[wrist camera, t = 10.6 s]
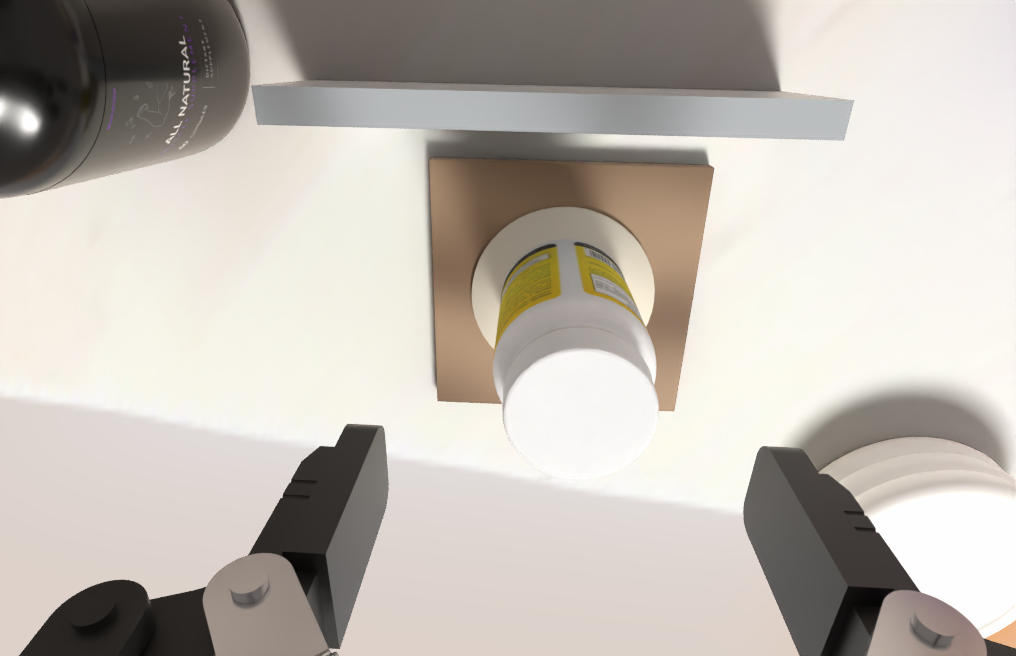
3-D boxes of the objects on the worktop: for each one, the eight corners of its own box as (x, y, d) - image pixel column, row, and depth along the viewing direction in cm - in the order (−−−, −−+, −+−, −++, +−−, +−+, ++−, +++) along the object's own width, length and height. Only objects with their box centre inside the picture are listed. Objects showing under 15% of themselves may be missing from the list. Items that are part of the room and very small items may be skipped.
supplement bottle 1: (289, 128, 21) (21, 200, 10) (123, 173, 22) (-283, 283, 11) (203, -95, 18) (-284, -321, 7) (20, -32, 19) (-649, -151, 8)
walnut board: (432, 157, 21) (428, 160, 21) (709, 165, 21) (715, 168, 20) (439, 393, 25) (436, 403, 25) (671, 403, 25) (675, 413, 24)
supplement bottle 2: (502, 350, 23) (486, 489, 16) (500, 236, 22) (481, 331, 14) (622, 352, 23) (665, 493, 16) (632, 236, 21) (686, 333, 14)
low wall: (315, 80, 20) (251, 85, 16) (781, 91, 20) (853, 100, 15) (318, 110, 21) (257, 124, 16) (775, 122, 20) (843, 140, 16)
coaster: (821, 416, 25) (862, 468, 22) (1046, 447, 25) (1119, 502, 22) (751, 582, 29) (777, 645, 26) (945, 607, 30) (994, 674, 26)
